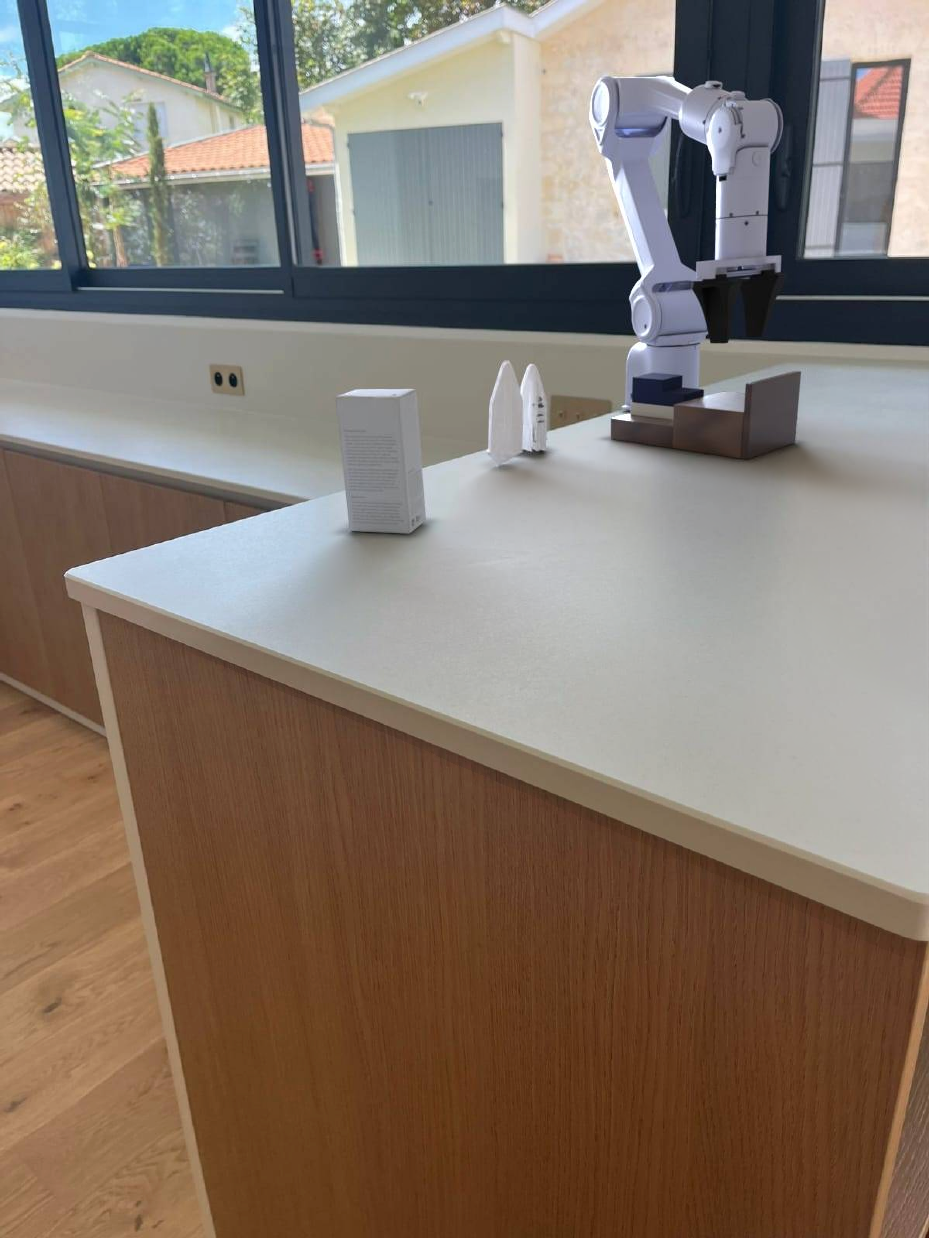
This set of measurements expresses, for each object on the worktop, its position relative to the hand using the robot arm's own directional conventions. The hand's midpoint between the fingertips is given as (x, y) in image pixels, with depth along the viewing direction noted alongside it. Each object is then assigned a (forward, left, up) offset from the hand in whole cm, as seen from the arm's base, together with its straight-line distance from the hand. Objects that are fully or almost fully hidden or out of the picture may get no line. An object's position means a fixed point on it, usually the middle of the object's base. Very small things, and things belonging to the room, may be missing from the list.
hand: (737, 340), depth 114 cm
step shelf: (+1, -9, -10) cm, 14 cm away
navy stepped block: (-4, -9, -8) cm, 12 cm away
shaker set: (-10, -28, -11) cm, 32 cm away
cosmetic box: (-1, -54, -11) cm, 55 cm away
